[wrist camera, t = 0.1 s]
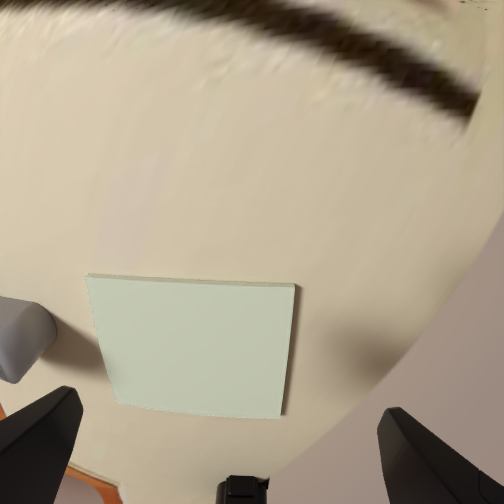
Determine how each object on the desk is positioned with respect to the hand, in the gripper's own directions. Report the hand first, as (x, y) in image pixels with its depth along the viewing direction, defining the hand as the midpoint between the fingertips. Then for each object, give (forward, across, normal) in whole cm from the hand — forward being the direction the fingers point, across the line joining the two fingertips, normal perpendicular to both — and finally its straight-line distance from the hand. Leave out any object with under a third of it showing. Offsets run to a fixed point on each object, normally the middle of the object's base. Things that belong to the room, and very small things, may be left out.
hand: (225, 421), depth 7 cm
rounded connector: (+12, +20, +6) cm, 24 cm away
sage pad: (+12, +4, +7) cm, 15 cm away
